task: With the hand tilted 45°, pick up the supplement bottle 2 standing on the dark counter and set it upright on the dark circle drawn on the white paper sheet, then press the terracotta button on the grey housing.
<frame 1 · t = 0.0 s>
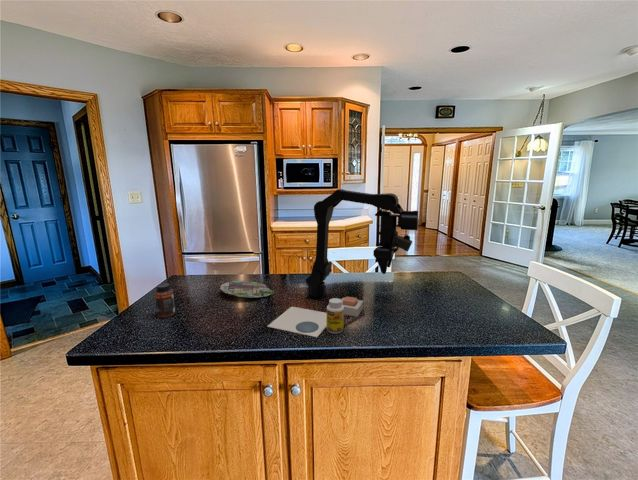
hand: (386, 270, 112), 15 cm above the table, tool pointing down, fingers open, 9 cm apart
supplement bottle: (166, 315, 109), on the table
done button: (350, 302, 111), point 3 cm above the table, slide at 0.0 cm
button housing: (349, 310, 112), on the table
drawing paper: (303, 320, 104), on the table
supplement bottle 2: (335, 330, 97), on the table
city model: (248, 293, 130), on the table
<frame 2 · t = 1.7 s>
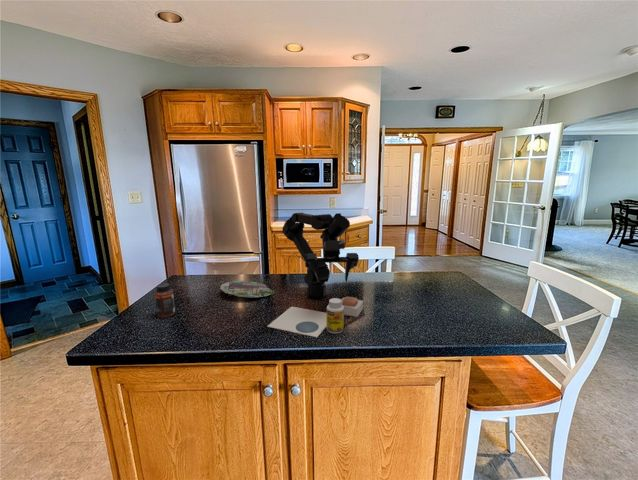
hand: (332, 281, 103), 14 cm above the table, tool tilted 45°, fingers open, 9 cm apart
nothing on the table moved.
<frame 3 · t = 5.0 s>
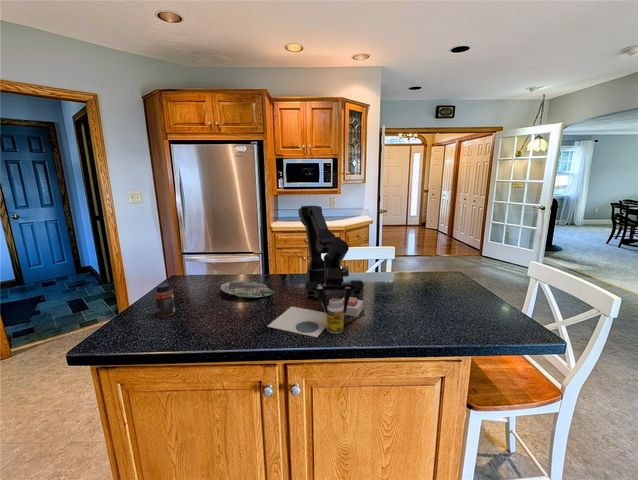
hand: (335, 312, 95), 7 cm above the table, tool tilted 45°, fingers closed on supplement bottle 2, 6 cm apart
supplement bottle 2: (335, 330, 97), on the table, touching gripper
everything else where it was.
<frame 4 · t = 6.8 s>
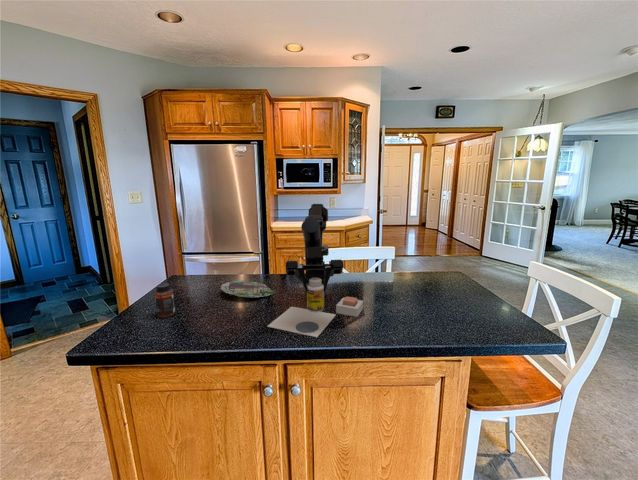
hand: (315, 291, 95), 13 cm above the table, tool tilted 45°, fingers closed on supplement bottle 2, 6 cm apart
supplement bottle 2: (315, 310, 98), point 6 cm above the table, touching gripper
everything else where it was.
when the fingers open (8 cm above the table, at t = 8.6 s): supplement bottle 2 drops 1 cm, resting on drawing paper.
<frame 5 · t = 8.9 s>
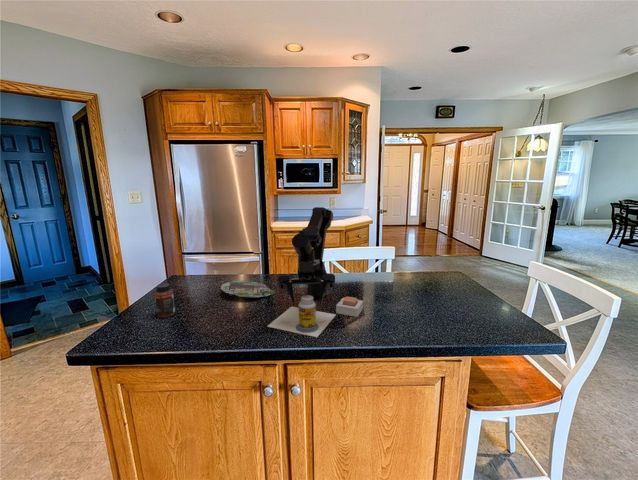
hand: (307, 305, 96), 8 cm above the table, tool tilted 45°, fingers open, 8 cm apart
supplement bottle 2: (307, 327, 99), resting on drawing paper
everything else where it was.
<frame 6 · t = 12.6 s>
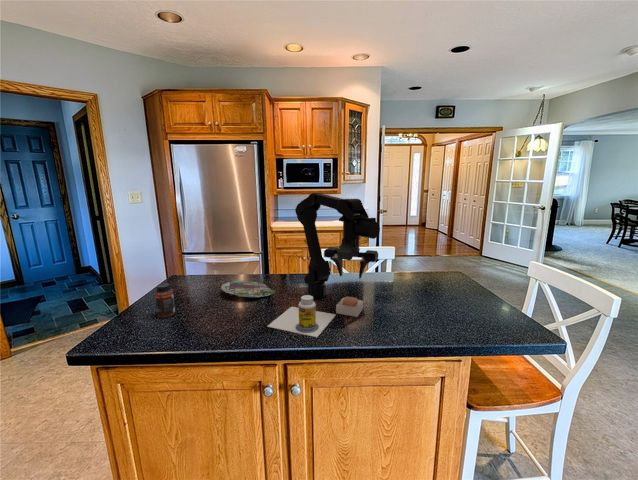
hand: (350, 277, 109), 13 cm above the table, tool pointing down, fingers open, 7 cm apart
nothing on the table moved.
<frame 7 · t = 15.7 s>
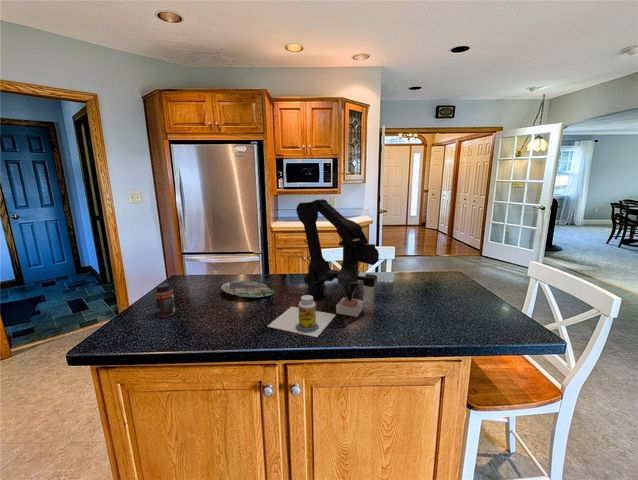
hand: (350, 300, 111), 4 cm above the table, tool pointing down, fingers closed, pressing on done button
done button: (350, 303, 111), point 3 cm above the table, slide at 0.3 cm, touching gripper
everything else where it was.
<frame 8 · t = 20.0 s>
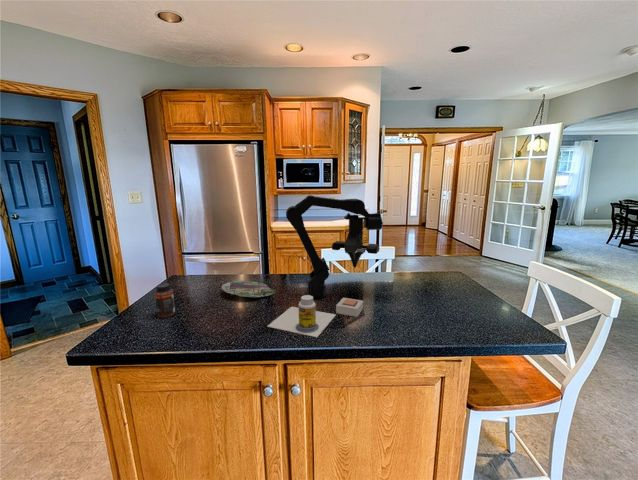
hand: (354, 267, 125), 12 cm above the table, tool pointing down, fingers closed
done button: (349, 305, 111), point 2 cm above the table, slide at 1.0 cm
everything else where it was.
at the end: supplement bottle 2 0.2 cm from the target spot, resting on drawing paper; supplement bottle 2 tilted 0°; done button slide at 1.0 cm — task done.
